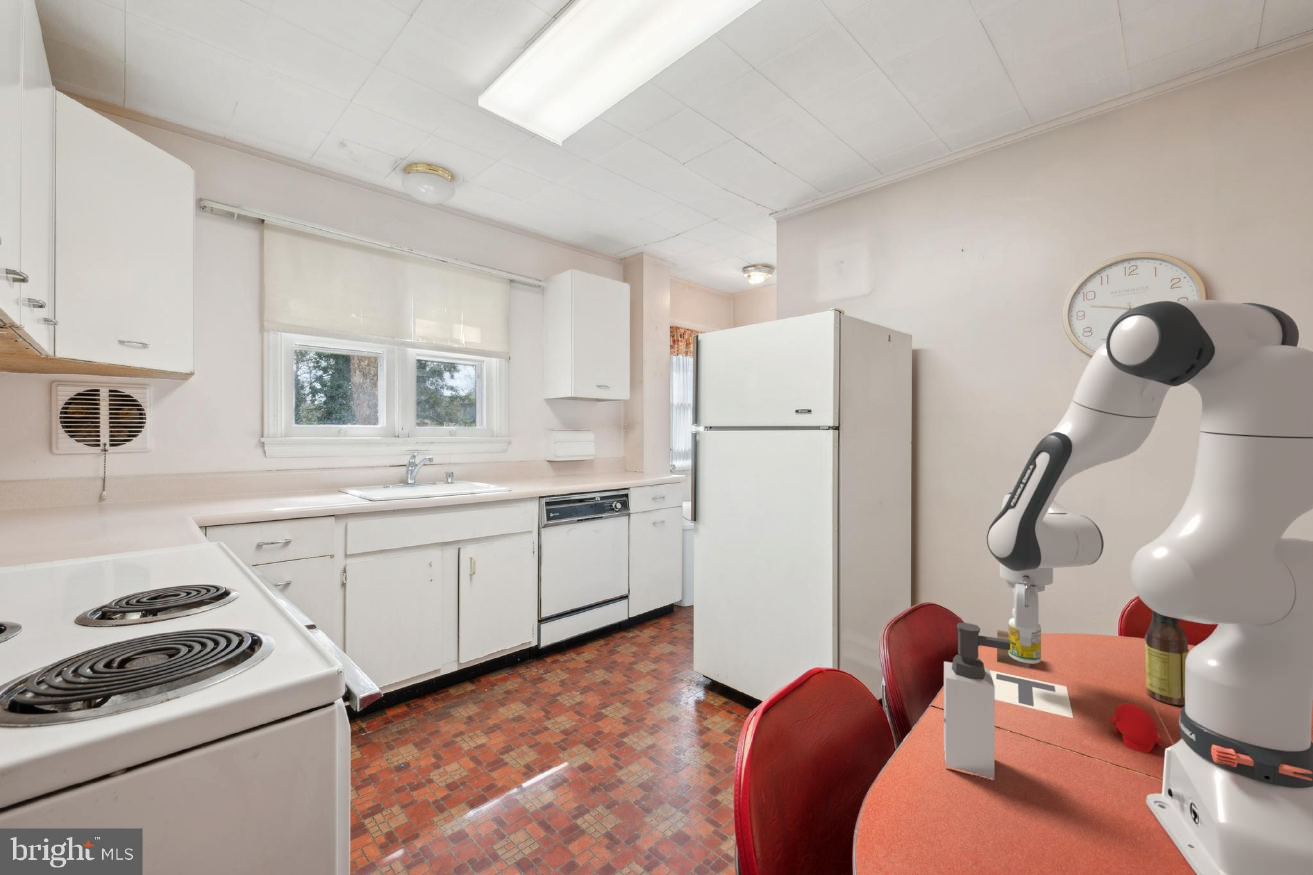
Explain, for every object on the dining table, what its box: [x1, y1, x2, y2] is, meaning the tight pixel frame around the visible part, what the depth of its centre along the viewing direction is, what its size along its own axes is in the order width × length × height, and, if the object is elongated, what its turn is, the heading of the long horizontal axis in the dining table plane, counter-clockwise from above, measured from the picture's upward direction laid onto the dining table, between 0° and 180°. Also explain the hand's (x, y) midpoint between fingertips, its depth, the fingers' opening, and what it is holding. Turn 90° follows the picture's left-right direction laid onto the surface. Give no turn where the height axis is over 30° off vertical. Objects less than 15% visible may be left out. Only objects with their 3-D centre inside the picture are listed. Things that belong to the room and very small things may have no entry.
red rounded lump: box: [1109, 703, 1164, 754], centre depth 89 cm, size 8×6×6 cm
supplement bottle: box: [1008, 607, 1042, 664], centre depth 105 cm, size 5×5×10 cm
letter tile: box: [989, 669, 1074, 719], centre depth 105 cm, size 14×14×1 cm
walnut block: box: [996, 629, 1030, 669], centre depth 120 cm, size 6×6×6 cm
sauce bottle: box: [1144, 609, 1190, 706], centre depth 103 cm, size 6×6×20 cm
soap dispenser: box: [943, 622, 1010, 780], centre depth 83 cm, size 6×9×22 cm
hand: (1024, 638), depth 105 cm, fingers closed on supplement bottle, 5 cm apart
